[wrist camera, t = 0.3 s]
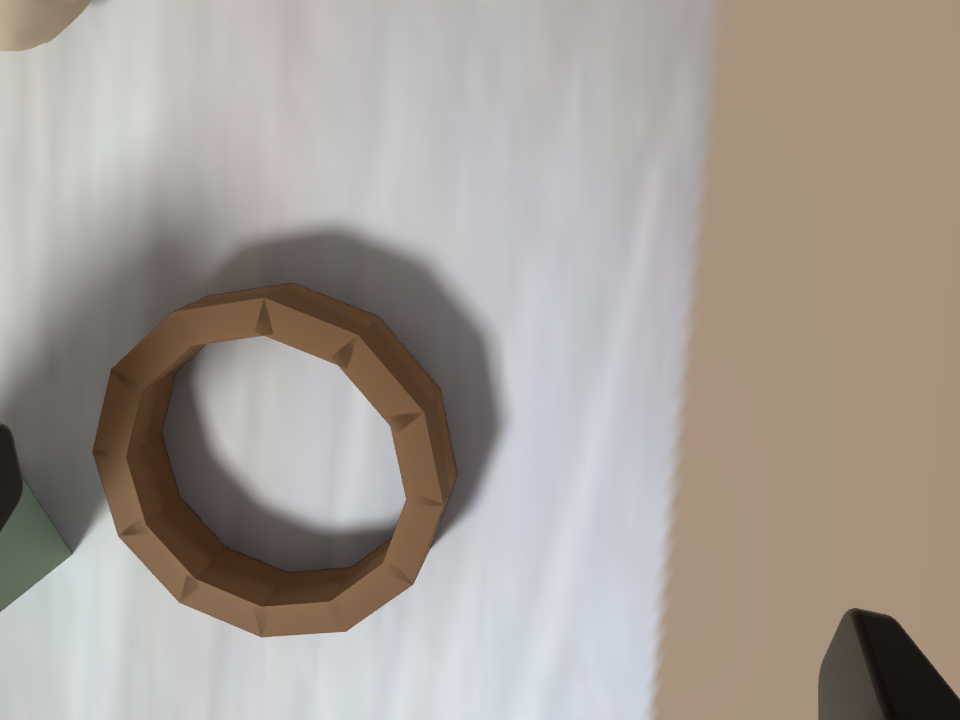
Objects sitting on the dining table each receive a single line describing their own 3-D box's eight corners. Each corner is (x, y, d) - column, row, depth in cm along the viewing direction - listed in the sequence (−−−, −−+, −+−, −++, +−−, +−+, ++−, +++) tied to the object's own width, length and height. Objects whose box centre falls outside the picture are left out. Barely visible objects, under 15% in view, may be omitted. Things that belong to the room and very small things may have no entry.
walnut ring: (285, 652, 29) (260, 691, 27) (73, 419, 28) (32, 443, 26) (522, 484, 26) (512, 515, 24) (293, 215, 25) (264, 225, 23)
